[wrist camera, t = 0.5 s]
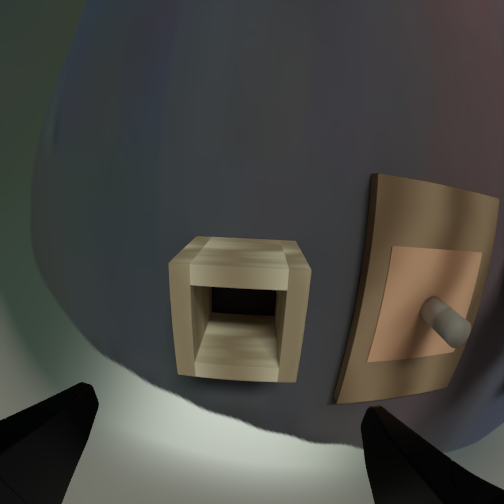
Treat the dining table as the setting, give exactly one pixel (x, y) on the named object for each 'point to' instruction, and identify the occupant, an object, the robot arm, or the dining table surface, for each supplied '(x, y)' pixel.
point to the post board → (416, 287)
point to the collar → (238, 325)
